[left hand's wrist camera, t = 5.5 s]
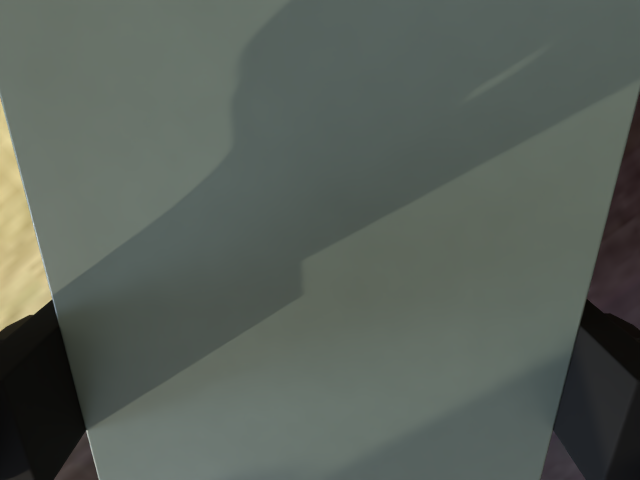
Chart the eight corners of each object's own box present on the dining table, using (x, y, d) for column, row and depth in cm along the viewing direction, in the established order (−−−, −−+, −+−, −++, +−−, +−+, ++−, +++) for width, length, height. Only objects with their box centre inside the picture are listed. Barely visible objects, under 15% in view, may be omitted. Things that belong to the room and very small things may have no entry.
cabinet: (144, -177, 13) (-203, -681, 4) (493, -177, 13) (839, -679, 4) (201, 312, 19) (104, 505, 10) (437, 312, 19) (534, 505, 10)
